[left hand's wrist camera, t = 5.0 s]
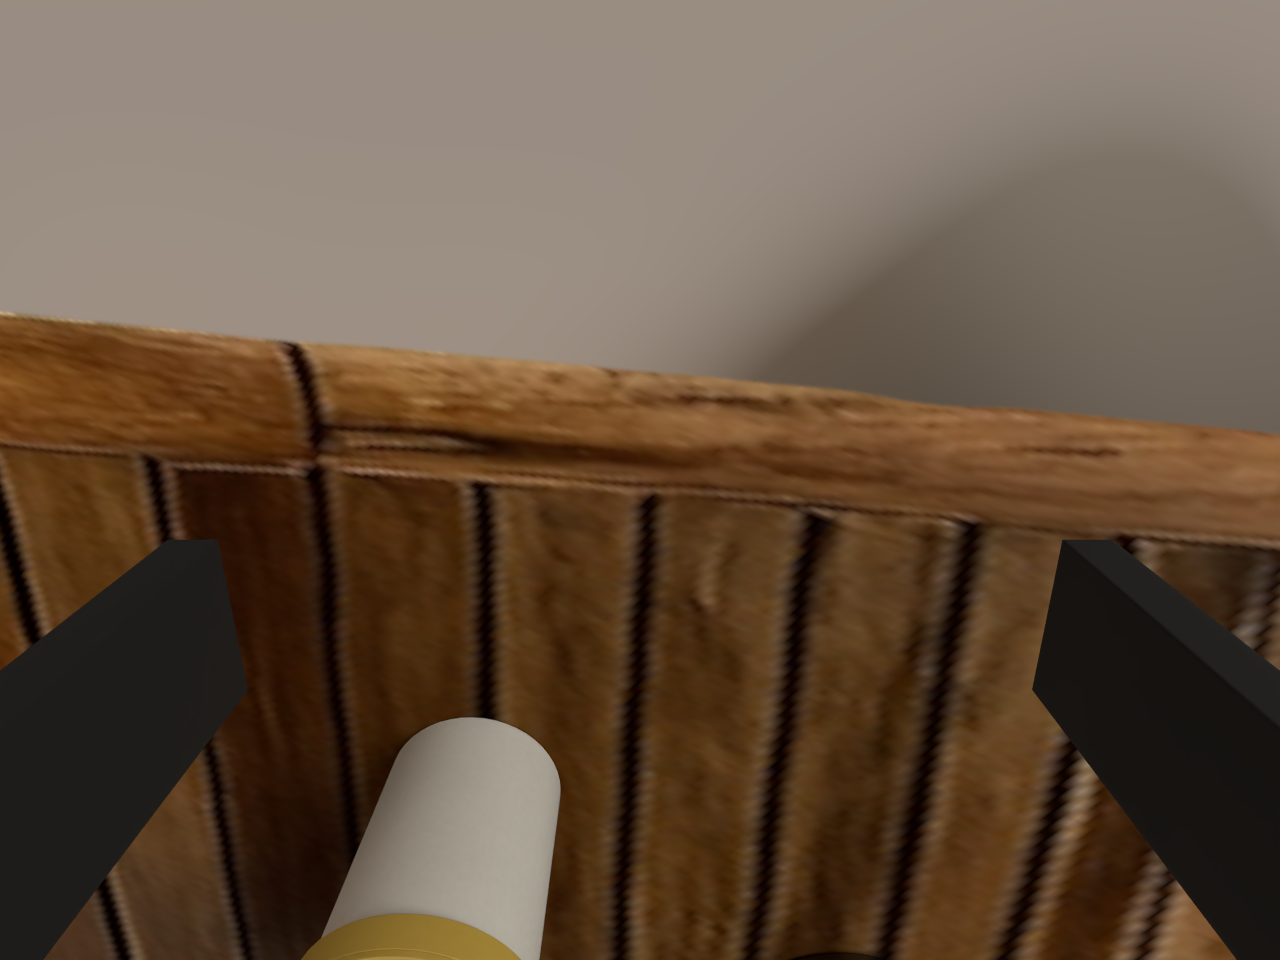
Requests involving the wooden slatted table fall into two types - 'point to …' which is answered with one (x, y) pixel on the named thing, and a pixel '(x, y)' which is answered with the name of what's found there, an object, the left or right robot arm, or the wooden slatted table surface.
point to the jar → (461, 834)
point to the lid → (408, 940)
